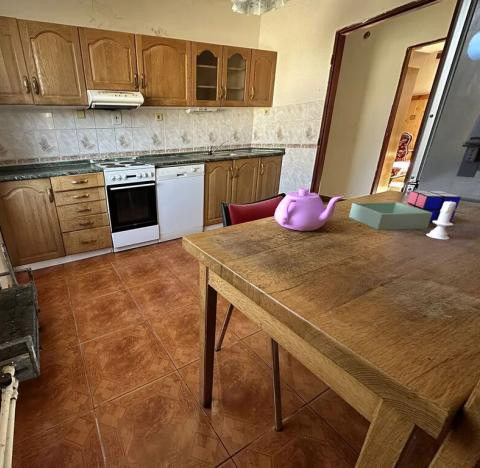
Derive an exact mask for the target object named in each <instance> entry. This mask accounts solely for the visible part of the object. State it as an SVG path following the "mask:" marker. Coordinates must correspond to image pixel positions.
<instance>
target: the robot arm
mask: <svg viewBox="0 0 480 468" xmlns="http://www.w3.org/2000/svg"><path fill="white" fill-rule="evenodd" d="M467 56H468V58H469V59H470V60H472V61H474V62H475V61H476V62H480V30H479V31H478V32H476V34H474V35H473V37H472V38H471V39H470V41H469V43H468V47H467ZM461 147H462V148H466V149H465V151H464V153H463V156H462V160H461V163H460V165H459V168H458V171H457V174H456V177H459V178H460V177H462V178H471V179H474V178H475V175H476V173H477V172H480V114H479V115H478V117H477V119H476V121H475V123H474V125H473V126H472V129H471V131H470V133H469V135H468V136H467V139H466V140H465V142H462V145H461Z"/></svg>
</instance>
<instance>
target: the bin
mask: <svg viewBox="0 0 480 468" xmlns="http://www.w3.org/2000/svg"><path fill="white" fill-rule="evenodd" d="M431 216H432V213H431V212H428V211H425V210H421V209H418V208H414V207H411V206H408V205H407V204H405V203H401V202H397V201H386V202H385V201H383V202H381V201H380V202H379V201H378V202H352V203H351V207H350V212H349V216H348V217H349V218H350V219H352V220H354V221H357V222H359V223H362V224H363V225H366V226H367V227H370V228H372V229H374V230H377V231H385V230H386V231H387V230H390V231H391V230H393V231H394V230H425V229H426V230H427V229H428V227H429V224H430V222H429V221H430V219H431Z"/></svg>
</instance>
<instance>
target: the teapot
mask: <svg viewBox="0 0 480 468" xmlns="http://www.w3.org/2000/svg"><path fill="white" fill-rule="evenodd" d="M342 198H343V196H335V197H332V198H331V199H330V200H329V202H328V204H327V207H325V204H324V202H323V200H322V198H321V197H320V194H319V193H316V192H310V189H309V188H298V191H293V192H289V193H288V194H286V195H285V197H284V198H282V200H281V201H280V202H279V203H278V206H277V207H276V209H275V212H274V219H275V221H276V222H277V223H278V224H279V225H280V226H281V227H284V228H286V229H290V230H295V231H301V232H305V231H308V232H309V231H315V230H318V229H320V228H321V227H323V226H324V225H325V224H326V222H328V221H330V220H331V219H332V217H333V216H334V214H335V208H336V205H337V202H338V201H339V200H340V199H342Z"/></svg>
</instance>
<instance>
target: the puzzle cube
mask: <svg viewBox="0 0 480 468" xmlns="http://www.w3.org/2000/svg"><path fill="white" fill-rule="evenodd" d="M461 199H462V197H461V196H460V195H456V194H453V193H449V192H445V191H443V190H411V191H410V193H409V196H408V200H407V203H406V205H408V206H411V207H414V208H418V209H421V210H425V211H428V212H431V213H432V216H431V219H430V221H429V223H433V222H432V221H435V220H438V218H439V215H440V210H441V209H442V206H443V204H444V202H446V201H448V202H450V201H451V202H455V203H456V206H455V210H454V211H453V213H452V216H451V218H450V221H449V222H450V223H452V221H453V219H454V217H455V214H456V210H457V208H458V206H459V203H460V201H461Z"/></svg>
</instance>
